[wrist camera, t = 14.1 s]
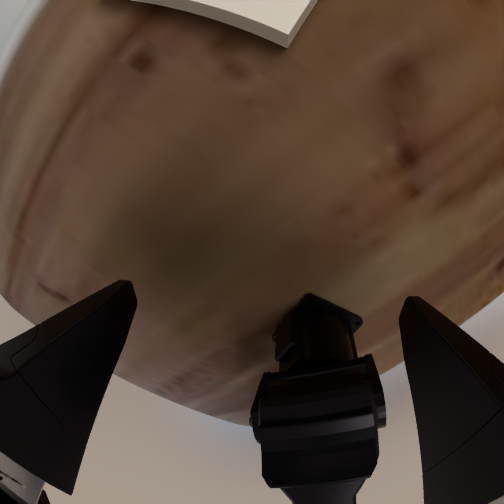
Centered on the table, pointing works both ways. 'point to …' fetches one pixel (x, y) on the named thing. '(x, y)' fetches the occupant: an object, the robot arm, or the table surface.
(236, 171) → the table surface
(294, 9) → the white board
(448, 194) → the table surface
